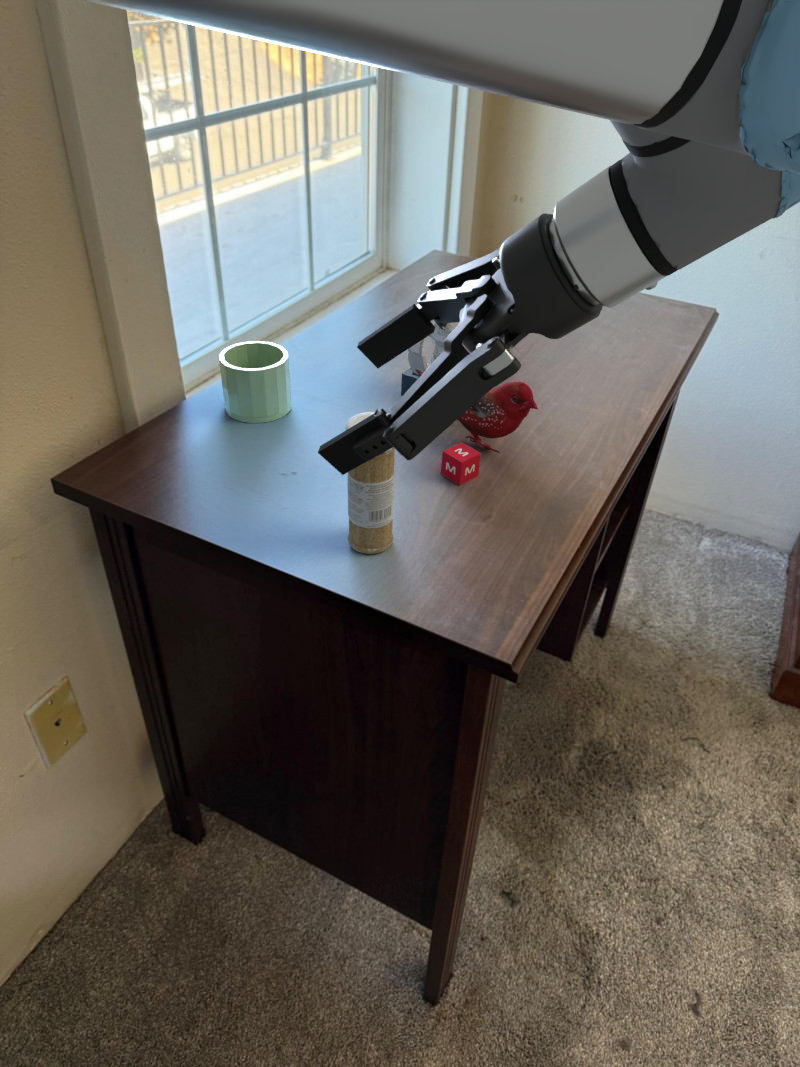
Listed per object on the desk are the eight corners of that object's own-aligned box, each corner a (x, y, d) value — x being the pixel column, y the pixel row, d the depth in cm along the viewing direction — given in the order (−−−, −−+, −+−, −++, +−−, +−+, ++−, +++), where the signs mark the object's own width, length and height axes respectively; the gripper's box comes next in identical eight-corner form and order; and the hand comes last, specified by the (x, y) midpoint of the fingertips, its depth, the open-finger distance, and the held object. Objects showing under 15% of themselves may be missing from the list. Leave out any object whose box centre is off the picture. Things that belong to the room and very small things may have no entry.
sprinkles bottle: (388, 525, 76) (391, 407, 67) (397, 553, 72) (402, 433, 64) (343, 530, 75) (341, 411, 67) (351, 559, 71) (349, 438, 63)
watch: (461, 389, 100) (468, 309, 93) (429, 413, 94) (435, 330, 87) (425, 377, 102) (430, 299, 95) (392, 400, 97) (395, 318, 90)
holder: (226, 425, 90) (219, 372, 86) (224, 394, 96) (218, 343, 92) (294, 420, 92) (291, 368, 87) (288, 389, 98) (284, 339, 94)
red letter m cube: (478, 476, 83) (481, 453, 81) (459, 485, 82) (461, 462, 80) (459, 464, 85) (461, 442, 83) (440, 473, 83) (442, 450, 82)
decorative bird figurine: (520, 474, 84) (533, 395, 78) (405, 418, 93) (408, 342, 87) (535, 465, 86) (549, 386, 79) (420, 410, 95) (424, 335, 89)
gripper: (609, 422, 42) (348, 545, 55) (608, 217, 58) (407, 348, 71) (534, 327, 38) (273, 482, 51) (555, 136, 55) (353, 289, 67)
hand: (350, 404), depth 61 cm, fingers open, 13 cm apart
